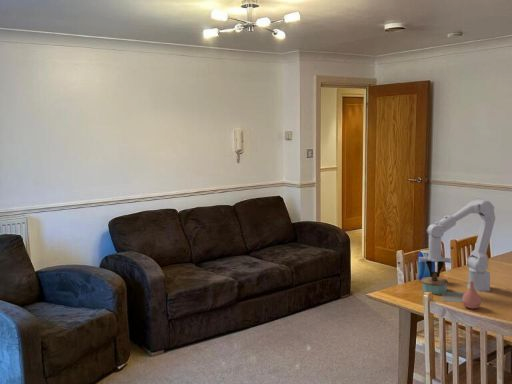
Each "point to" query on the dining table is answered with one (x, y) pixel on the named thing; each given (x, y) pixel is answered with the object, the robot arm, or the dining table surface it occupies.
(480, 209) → the robot arm
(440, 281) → the lid
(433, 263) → the beer can
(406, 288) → the dining table surface
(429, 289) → the bowl
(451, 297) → the mat
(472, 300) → the perfume bottle
